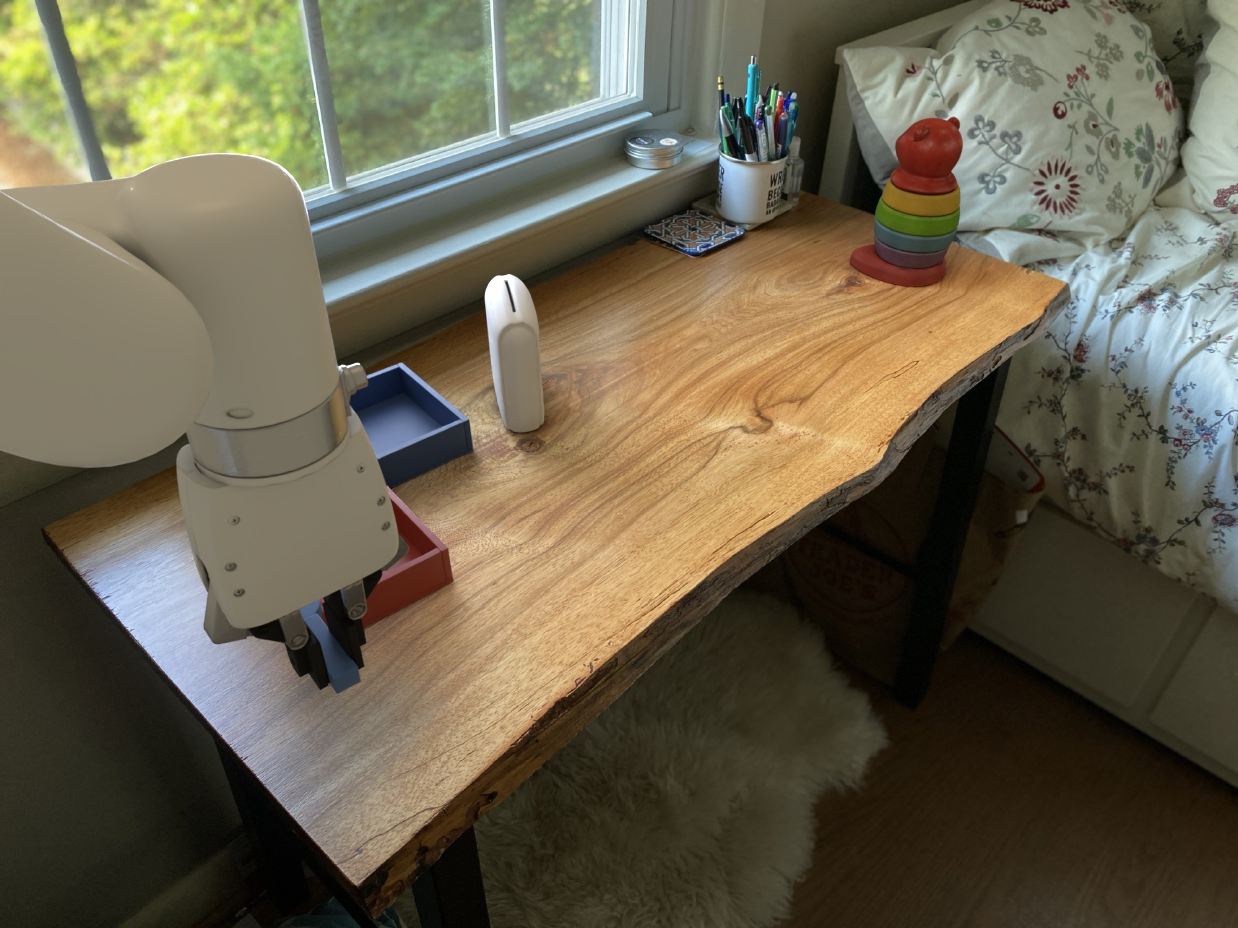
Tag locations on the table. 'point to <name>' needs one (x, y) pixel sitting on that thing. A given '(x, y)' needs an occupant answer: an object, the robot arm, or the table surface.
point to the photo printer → (515, 353)
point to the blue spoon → (331, 650)
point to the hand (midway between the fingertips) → (331, 663)
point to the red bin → (408, 568)
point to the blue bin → (409, 424)
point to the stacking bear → (916, 208)
